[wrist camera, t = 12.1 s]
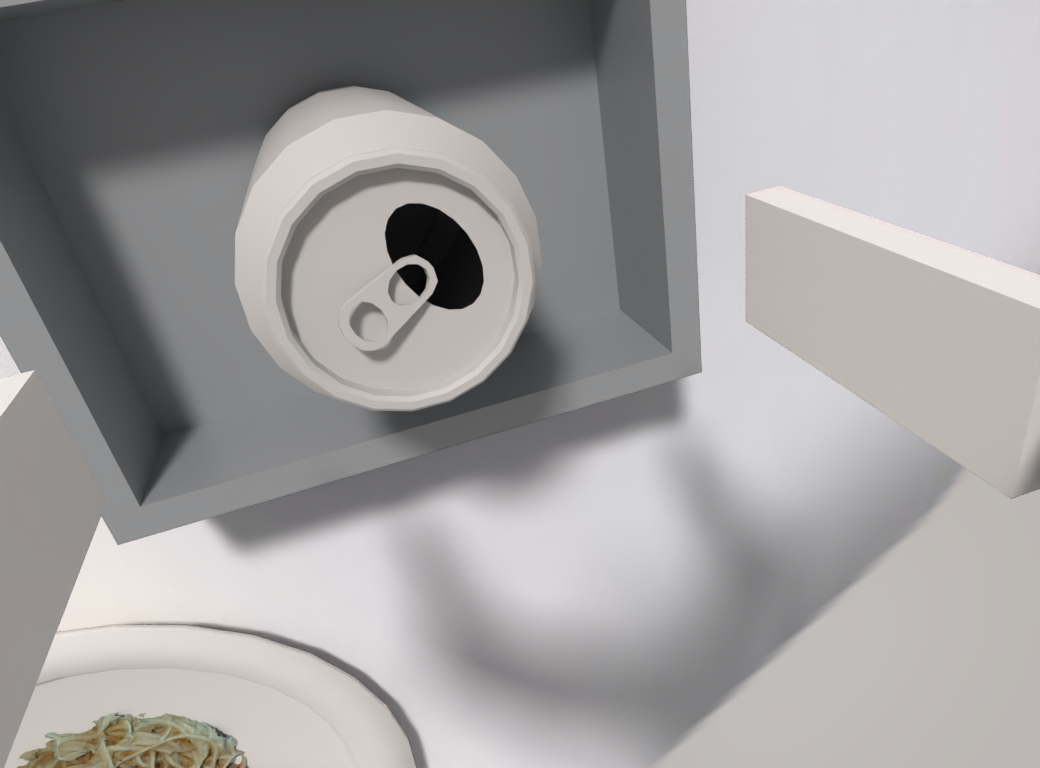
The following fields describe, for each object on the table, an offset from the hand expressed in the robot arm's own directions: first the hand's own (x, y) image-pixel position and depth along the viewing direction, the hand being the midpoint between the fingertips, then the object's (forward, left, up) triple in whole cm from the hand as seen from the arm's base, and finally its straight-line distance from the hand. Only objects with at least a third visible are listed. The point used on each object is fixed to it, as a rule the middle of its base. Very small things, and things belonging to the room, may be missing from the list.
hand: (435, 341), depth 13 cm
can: (0, 0, -15) cm, 15 cm away
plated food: (+20, +30, -17) cm, 40 cm away
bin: (0, 0, -16) cm, 16 cm away
